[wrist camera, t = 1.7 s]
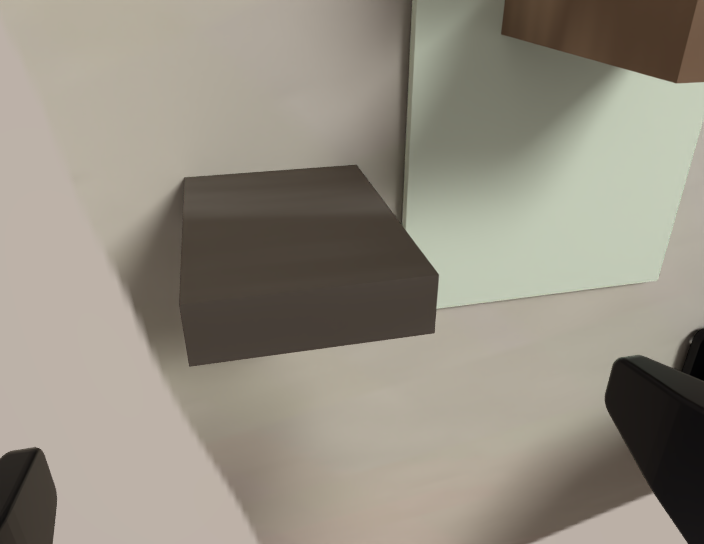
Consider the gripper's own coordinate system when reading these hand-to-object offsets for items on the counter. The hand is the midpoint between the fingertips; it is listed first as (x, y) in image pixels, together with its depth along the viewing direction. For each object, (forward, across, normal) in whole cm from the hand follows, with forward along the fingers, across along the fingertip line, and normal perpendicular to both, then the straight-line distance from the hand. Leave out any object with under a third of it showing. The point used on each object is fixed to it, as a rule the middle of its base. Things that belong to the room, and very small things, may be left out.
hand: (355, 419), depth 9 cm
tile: (+10, 0, 0) cm, 10 cm away
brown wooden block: (+9, -9, -5) cm, 14 cm away
